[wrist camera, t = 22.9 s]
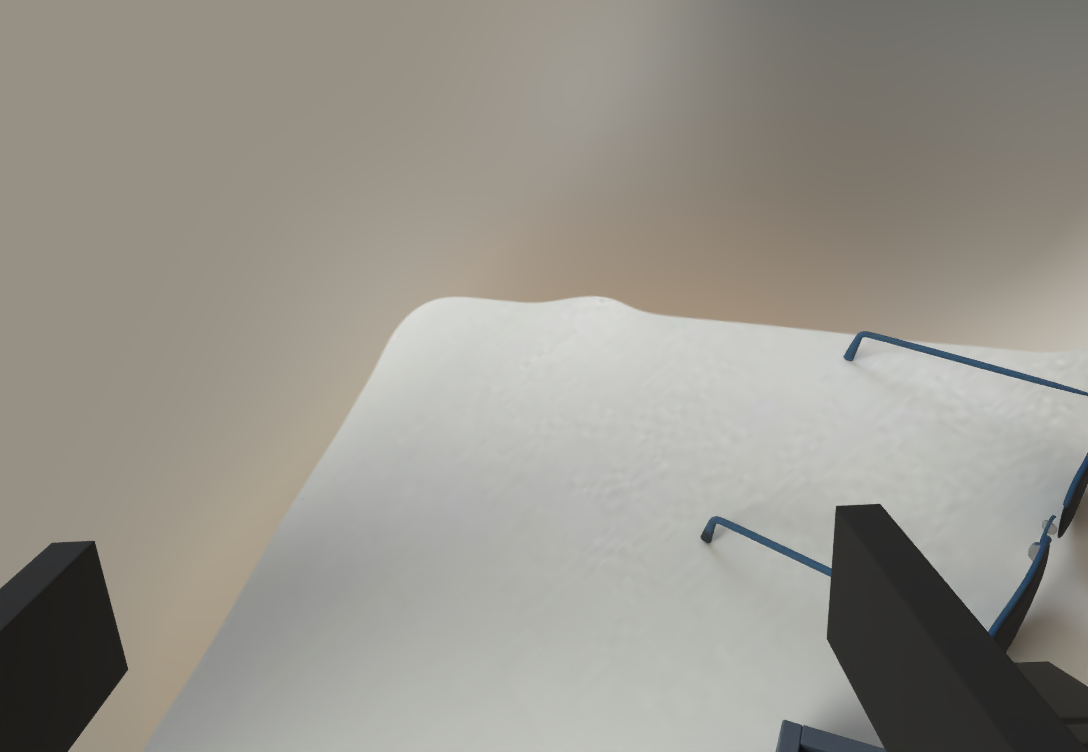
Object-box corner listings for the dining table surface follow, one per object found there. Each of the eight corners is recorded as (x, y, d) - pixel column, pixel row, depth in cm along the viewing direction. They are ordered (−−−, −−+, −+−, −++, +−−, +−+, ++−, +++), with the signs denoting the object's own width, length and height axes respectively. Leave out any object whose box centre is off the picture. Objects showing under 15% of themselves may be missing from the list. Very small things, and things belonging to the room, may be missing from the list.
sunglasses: (982, 709, 36) (997, 650, 33) (701, 562, 45) (691, 505, 42) (1103, 457, 44) (1125, 391, 41) (845, 376, 53) (846, 316, 50)
